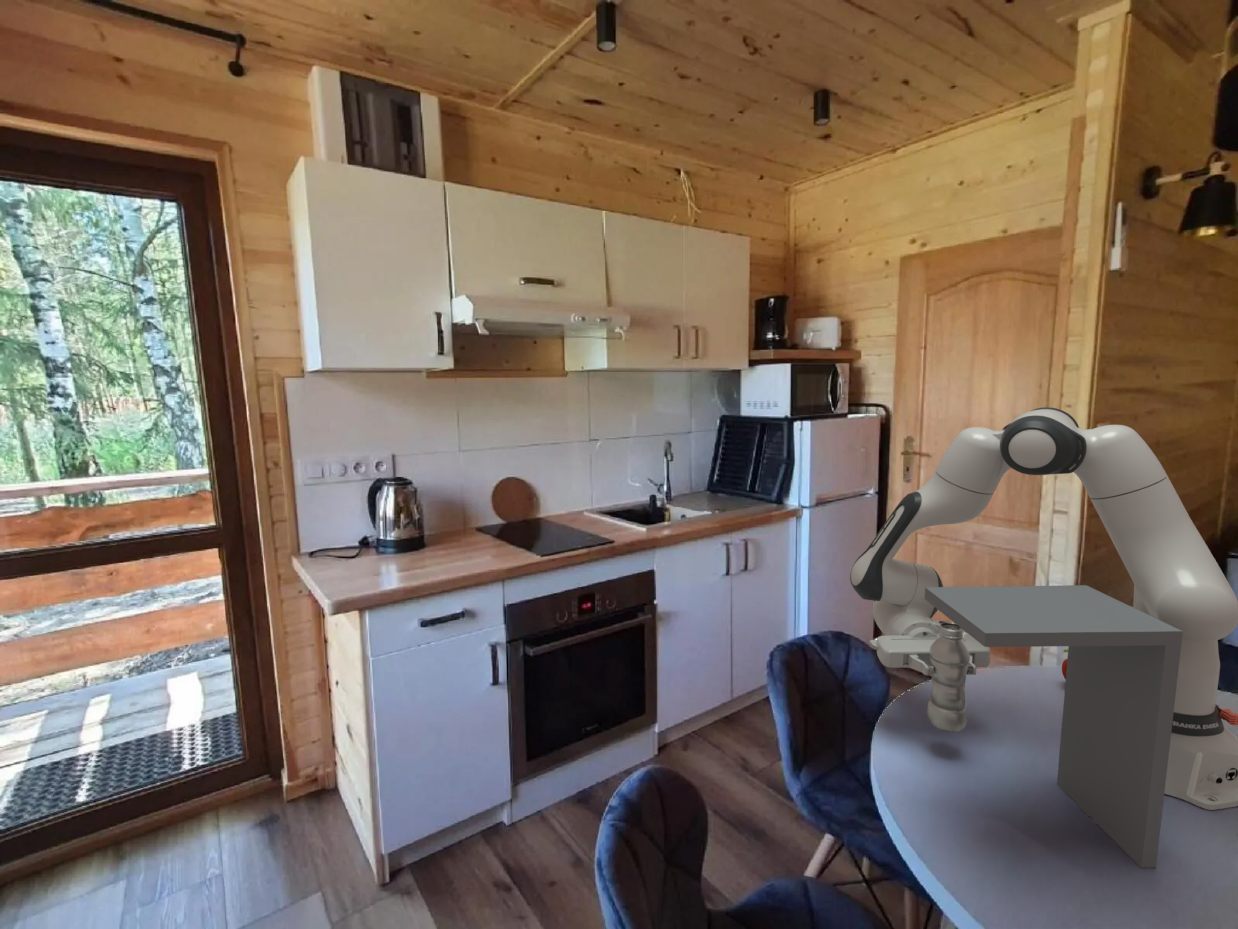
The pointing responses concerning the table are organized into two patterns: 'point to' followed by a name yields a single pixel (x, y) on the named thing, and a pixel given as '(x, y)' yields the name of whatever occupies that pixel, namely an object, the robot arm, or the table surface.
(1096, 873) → the table surface
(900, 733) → the table surface
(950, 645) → the plastic bottle
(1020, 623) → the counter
